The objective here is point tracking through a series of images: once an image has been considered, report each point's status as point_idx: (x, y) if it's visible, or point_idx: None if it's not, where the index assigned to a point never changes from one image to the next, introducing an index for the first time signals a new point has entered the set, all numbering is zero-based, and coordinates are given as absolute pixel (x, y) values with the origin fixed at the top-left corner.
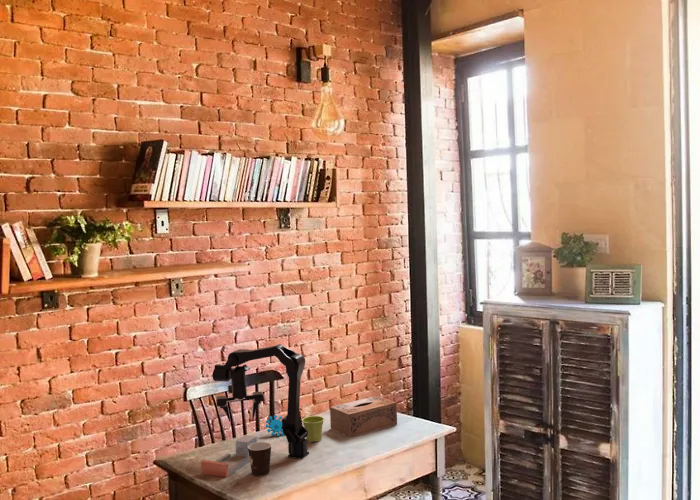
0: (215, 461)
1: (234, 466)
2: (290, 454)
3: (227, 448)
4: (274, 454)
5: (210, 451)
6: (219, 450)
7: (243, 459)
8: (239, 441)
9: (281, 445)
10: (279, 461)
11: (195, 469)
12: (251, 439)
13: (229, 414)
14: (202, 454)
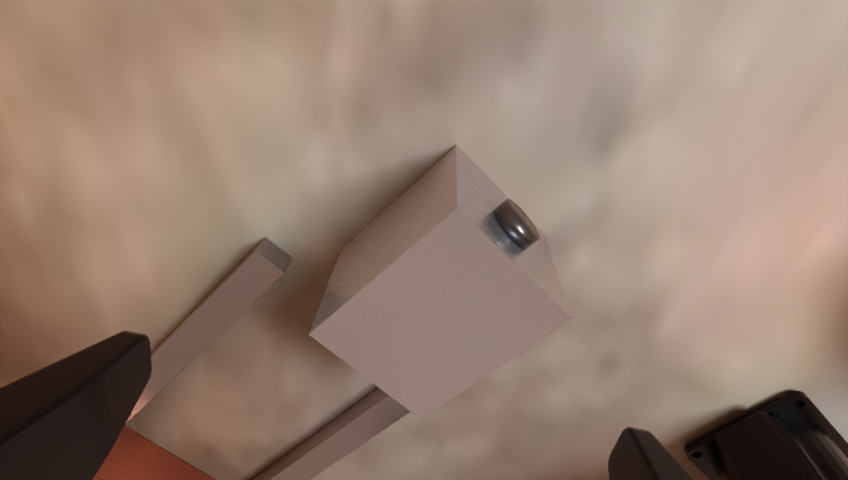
0: (157, 357)
1: (289, 477)
2: (717, 448)
3: (280, 11)
4: (631, 363)
5: (93, 13)
6: (191, 32)
7: (367, 411)
8: (347, 362)
9: (808, 209)
10: (597, 471)
11: (30, 353)
12: (482, 371)
13: (31, 426)
14: (19, 65)
